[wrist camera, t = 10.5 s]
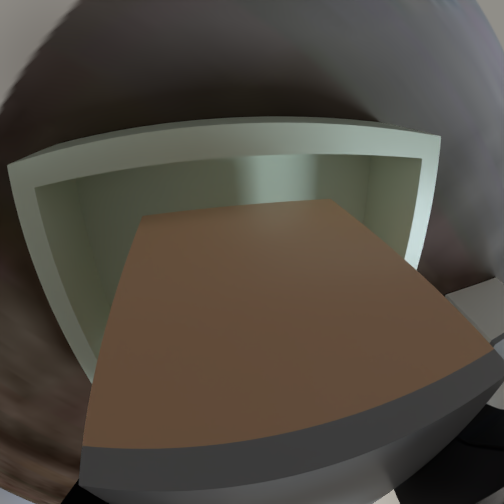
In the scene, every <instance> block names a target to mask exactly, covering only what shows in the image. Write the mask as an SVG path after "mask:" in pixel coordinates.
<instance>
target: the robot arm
mask: <svg viewBox="0 0 504 504" xmlns="http://www.w3.org/2000/svg"><path fill="white" fill-rule="evenodd" d="M394 491H395V493H396V495H397V498H398V500H399V502H400V504H504V410H503V409H498V408H496V407H493V406H491V405H489V404H486V405H485V406H484V407H483V408H482V409H481V410H480V412H479V413H478V414H477V415H476V416H475V417H474V418H473V419H472V420H471V421H470V423H469V424H468V425H467V426H466V427H465V428H464V429H463V430H462V431H461V432H460V433H459V434H458V435H457V436H456V437H455V438H454V439H453V440H452V441H451V442H450V443H449V444H448V445H447V446H446V447H445V448H444V449H442V450H441V451H440V452H439V453H438V454H437V455H436V456H435V457H434V458H432V459H431V460H430V461H429V462H428V463H427V464H425V465H424V466H423V467H422V468H421V469H419V470H418V471H417V472H416V473H414V474H413V475H412V476H411V477H409V478H408V479H407V480H405V481H404V482H403V483H401V484H400V485H399V486H397V487H396V488H395V489H394ZM61 504H109V503H107V502H106V501H104V500H102V499H100V498H99V497H97V496H95V495H94V494H92V493H90V492H89V491H87V490H86V489H84V488H83V487H81V486H79V479H78V481H77V482H76V483H75V485H74V486H73V487H72V489H71V490H70V492H69V493H68V494H67V496H66V497H65V498H64V500H63V501H62V502H61Z"/></svg>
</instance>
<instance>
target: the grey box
mask: <svg viewBox="0 0 504 504" xmlns="http://www.w3.org/2000/svg"><path fill="white" fill-rule="evenodd" d="M503 382H504V359H503V358H502V357H501V356H500V355H499V354H498V352H497V351H496V350H495V349H494V348H493V347H492V346H491V345H490V343H489V342H488V341H487V340H486V339H485V338H484V337H483V336H482V335H481V334H480V332H479V331H478V330H477V329H476V328H475V327H474V326H473V325H472V324H471V323H470V322H469V321H468V320H467V319H466V318H465V317H464V316H463V315H462V314H461V313H460V312H459V311H458V310H457V309H456V308H455V307H454V306H453V305H452V304H451V303H450V302H449V301H448V300H447V299H446V298H445V297H444V296H443V295H442V294H441V293H440V292H439V291H438V290H437V289H436V288H435V287H434V286H433V285H432V284H431V283H430V282H429V281H428V280H426V279H425V278H424V277H423V276H422V275H421V274H420V273H419V272H418V271H417V270H416V269H415V268H413V267H412V266H411V265H410V264H409V263H408V262H407V261H406V260H404V259H403V258H402V257H401V256H400V255H399V254H398V253H397V252H395V251H394V250H393V249H392V248H391V247H390V246H388V245H387V244H386V243H385V242H384V241H383V240H381V239H380V238H379V237H378V236H377V235H375V234H374V233H373V232H372V231H371V230H369V229H368V228H367V227H366V226H364V225H363V224H362V223H361V222H360V221H358V220H357V219H356V218H355V217H353V216H352V215H351V214H350V213H348V212H347V211H346V210H344V209H343V208H342V207H341V206H339V205H338V204H337V203H335V202H334V201H333V200H332V199H318V200H301V201H287V202H273V203H260V204H248V205H237V206H226V207H216V208H206V209H196V210H187V211H178V212H170V213H161V214H153V215H145V216H142V218H141V221H140V224H139V226H138V229H137V231H136V234H135V237H134V239H133V242H132V245H131V248H130V251H129V253H128V256H127V259H126V262H125V265H124V268H123V271H122V274H121V277H120V280H119V283H118V286H117V290H116V293H115V296H114V299H113V303H112V306H111V310H110V313H109V317H108V320H107V324H106V328H105V332H104V335H103V339H102V343H101V347H100V351H99V356H98V360H97V364H96V369H95V373H94V378H93V383H92V388H91V393H90V399H89V404H88V410H87V416H86V422H85V429H84V436H83V444H82V453H81V462H80V473H79V486H81V487H83V488H84V489H86V490H87V491H89V492H90V493H92V494H94V495H95V496H97V497H99V498H100V499H102V500H104V501H106V502H107V503H109V504H373V503H374V502H376V501H377V500H379V499H380V498H382V497H383V496H385V495H386V494H388V493H389V492H390V491H392V490H393V489H395V488H396V487H397V486H399V485H400V484H401V483H403V482H404V481H405V480H407V479H408V478H409V477H411V476H412V475H413V474H414V473H416V472H417V471H418V470H419V469H421V468H422V467H423V466H424V465H425V464H427V463H428V462H429V461H430V460H431V459H432V458H434V457H435V456H436V455H437V454H438V453H439V452H440V451H441V450H442V449H444V448H445V447H446V446H447V445H448V444H449V443H450V442H451V441H452V440H453V439H454V438H455V437H456V436H457V435H458V434H459V433H460V432H461V431H462V430H463V429H464V428H465V427H466V426H467V425H468V424H469V423H470V421H471V420H472V419H473V418H474V417H475V416H476V415H477V414H478V413H479V412H480V410H481V409H482V408H483V407H484V406H485V405H486V403H487V402H488V401H489V400H490V399H491V397H492V396H493V395H494V394H495V392H496V391H497V390H498V389H499V387H500V386H501V385H502V383H503Z"/></svg>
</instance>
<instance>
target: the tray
mask: <svg viewBox="0 0 504 504" xmlns="http://www.w3.org/2000/svg"><path fill="white" fill-rule="evenodd" d="M440 143H441V136H437V135H434V134H430V133H426V132H422V131H418V130H414V129H410V128H405V127H401V126H396V125H392V124H387V123H382V122H374V121H364V120H353V119H340V118H324V117H295V116H260V117H231V118H215V119H202V120H191V121H181V122H172V123H164V124H156V125H149V126H142V127H136V128H130V129H124V130H118V131H113V132H108V133H103V134H98V135H93V136H88V137H84V138H79V139H75V140H71V141H67V142H63V143H59V144H56V145H53V146H51V147H48V148H46V149H43V150H41V151H38V152H36V153H33V154H31V155H29V156H26V157H24V158H22V159H19V160H17V161H15V162H13V163H11V164H9V165H7V168H8V174H9V179H10V184H11V188H12V193H13V197H14V201H15V205H16V209H17V213H18V217H19V221H20V224H21V228H22V231H23V234H24V238H25V241H26V244H27V247H28V250H29V253H30V256H31V259H32V261H33V264H34V267H35V270H36V272H37V275H38V278H39V280H40V283H41V285H42V288H43V290H44V292H45V295H46V297H47V299H48V302H49V304H50V306H51V308H52V311H53V313H54V315H55V317H56V319H57V321H58V323H59V325H60V327H61V330H62V332H63V333H64V335H65V337H66V339H67V341H68V343H69V345H70V347H71V349H72V351H73V352H74V354H75V356H76V358H77V360H78V361H79V363H80V365H81V367H82V368H83V370H84V372H85V373H86V375H87V377H88V378H89V380H90V381H91V383H93V378H94V373H95V369H96V364H97V360H98V356H99V351H100V347H101V343H102V339H103V335H104V332H105V328H106V324H107V320H108V317H109V313H110V310H111V306H112V303H113V299H114V296H115V293H116V290H117V286H118V283H119V280H120V277H121V274H122V271H123V268H124V265H125V262H126V259H127V256H128V253H129V251H130V248H131V245H132V242H133V239H134V237H135V234H136V231H137V229H138V226H139V224H140V221H141V218H142V216H145V215H153V214H161V213H170V212H178V211H187V210H196V209H206V208H216V207H226V206H237V205H248V204H260V203H273V202H287V201H301V200H318V199H332V200H333V201H334V202H335V203H337V204H338V205H339V206H341V207H342V208H343V209H344V210H346V211H347V212H348V213H350V214H351V215H352V216H353V217H355V218H356V219H357V220H358V221H360V222H361V223H362V224H363V225H364V226H366V227H367V228H368V229H369V230H371V231H372V232H373V233H374V234H375V235H377V236H378V237H379V238H380V239H381V240H383V241H384V242H385V243H386V244H387V245H388V246H390V247H391V248H392V249H393V250H394V251H395V252H397V253H398V254H399V255H400V256H401V257H402V258H403V259H404V260H406V261H407V262H408V263H409V264H410V265H411V266H412V267H413V268H415V269H416V270H417V267H418V263H419V259H420V256H421V252H422V248H423V244H424V239H425V235H426V231H427V226H428V221H429V217H430V211H431V206H432V201H433V195H434V189H435V183H436V176H437V169H438V161H439V153H440Z"/></svg>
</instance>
